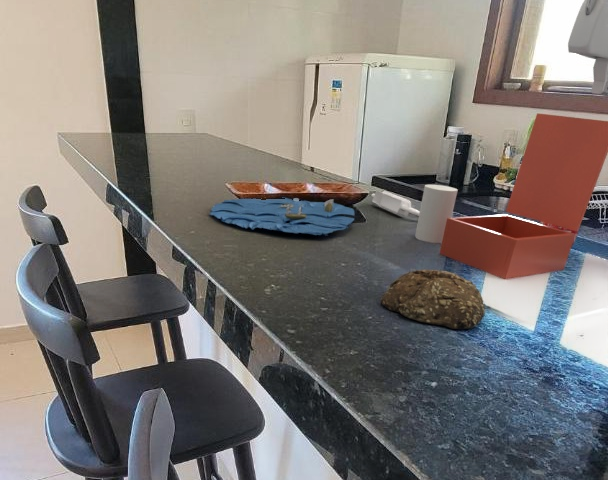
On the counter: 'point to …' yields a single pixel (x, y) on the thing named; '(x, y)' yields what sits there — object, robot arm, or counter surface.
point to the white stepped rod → (394, 203)
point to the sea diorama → (285, 215)
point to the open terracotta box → (506, 245)
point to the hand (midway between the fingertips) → (600, 94)
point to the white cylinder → (435, 212)
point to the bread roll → (436, 299)
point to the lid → (559, 170)
